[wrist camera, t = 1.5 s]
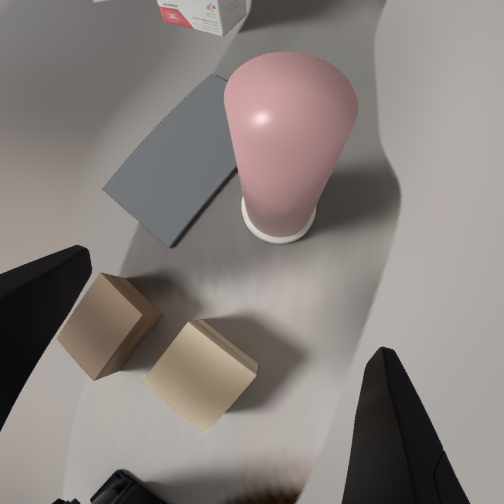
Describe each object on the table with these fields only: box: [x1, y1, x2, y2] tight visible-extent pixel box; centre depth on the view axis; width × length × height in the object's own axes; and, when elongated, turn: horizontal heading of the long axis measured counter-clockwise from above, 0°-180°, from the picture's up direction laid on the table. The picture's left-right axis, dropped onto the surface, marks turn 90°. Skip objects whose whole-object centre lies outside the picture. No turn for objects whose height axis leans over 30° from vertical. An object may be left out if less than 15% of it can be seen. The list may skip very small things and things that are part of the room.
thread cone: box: [224, 52, 358, 245], centre depth 16 cm, size 5×5×13 cm
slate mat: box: [103, 74, 237, 248], centre depth 23 cm, size 14×8×1 cm, turn 142°
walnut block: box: [57, 273, 163, 381], centre depth 19 cm, size 6×4×4 cm, turn 141°
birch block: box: [142, 319, 258, 434], centre depth 19 cm, size 5×5×4 cm
